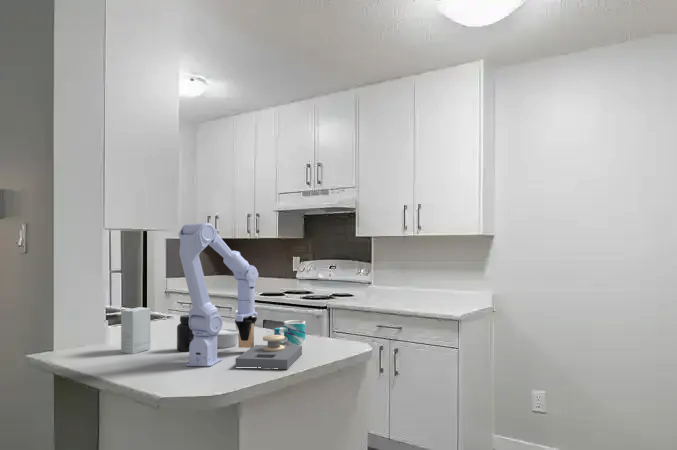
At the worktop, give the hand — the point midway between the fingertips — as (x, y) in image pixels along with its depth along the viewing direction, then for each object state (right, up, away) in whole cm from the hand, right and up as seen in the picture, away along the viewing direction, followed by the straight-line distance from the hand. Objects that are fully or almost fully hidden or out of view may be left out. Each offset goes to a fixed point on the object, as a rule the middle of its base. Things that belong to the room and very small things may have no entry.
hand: (246, 339), depth 178 cm
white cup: (-6, -6, +32) cm, 33 cm away
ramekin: (-10, -5, +12) cm, 16 cm away
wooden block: (0, -3, 0) cm, 2 cm away
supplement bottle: (-22, -5, +4) cm, 23 cm away
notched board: (+10, -4, -14) cm, 17 cm away
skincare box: (-39, -5, +3) cm, 39 cm away
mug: (+14, -5, +12) cm, 19 cm away
